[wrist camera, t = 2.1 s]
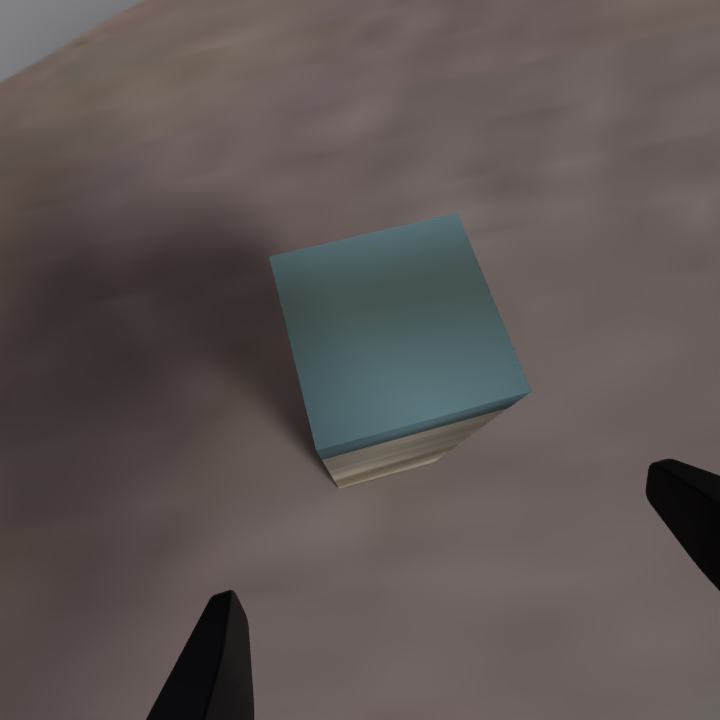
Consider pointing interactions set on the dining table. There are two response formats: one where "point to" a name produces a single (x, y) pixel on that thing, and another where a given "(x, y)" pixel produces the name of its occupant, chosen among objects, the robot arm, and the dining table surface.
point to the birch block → (395, 346)
